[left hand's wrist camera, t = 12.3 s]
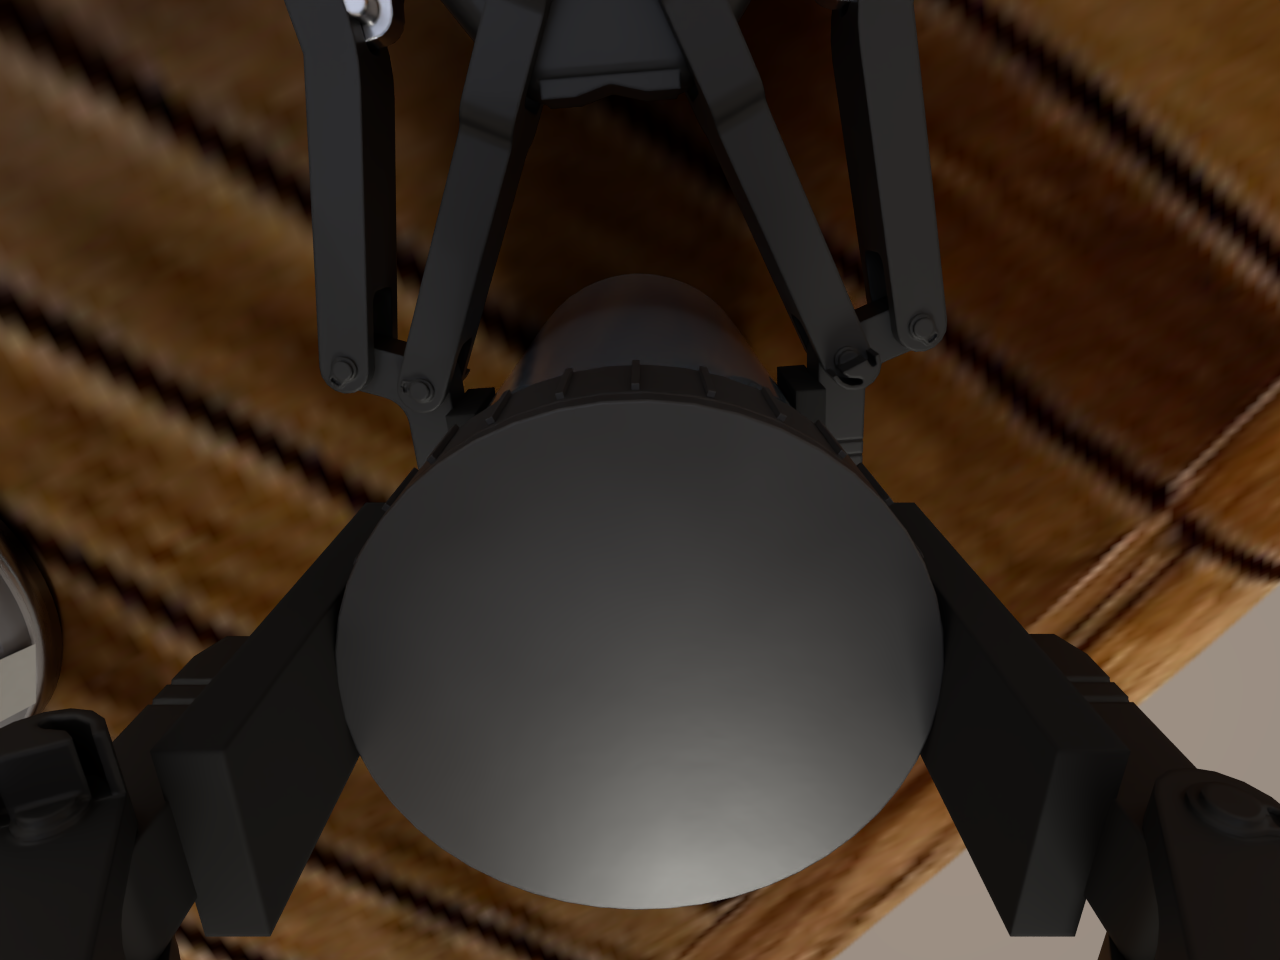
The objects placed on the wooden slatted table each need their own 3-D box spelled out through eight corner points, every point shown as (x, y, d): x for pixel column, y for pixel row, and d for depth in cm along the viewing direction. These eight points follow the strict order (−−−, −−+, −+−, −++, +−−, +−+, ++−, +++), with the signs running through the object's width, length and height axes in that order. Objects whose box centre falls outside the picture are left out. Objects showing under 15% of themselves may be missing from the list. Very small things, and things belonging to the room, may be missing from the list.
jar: (796, 352, 26) (1030, 595, 11) (674, 529, 29) (716, 937, 13) (599, 226, 25) (528, 292, 9) (487, 425, 27) (281, 746, 12)
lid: (1013, 539, 12) (1083, 604, 10) (713, 880, 15) (724, 981, 13) (534, 241, 10) (511, 253, 8) (295, 689, 13) (238, 773, 11)
